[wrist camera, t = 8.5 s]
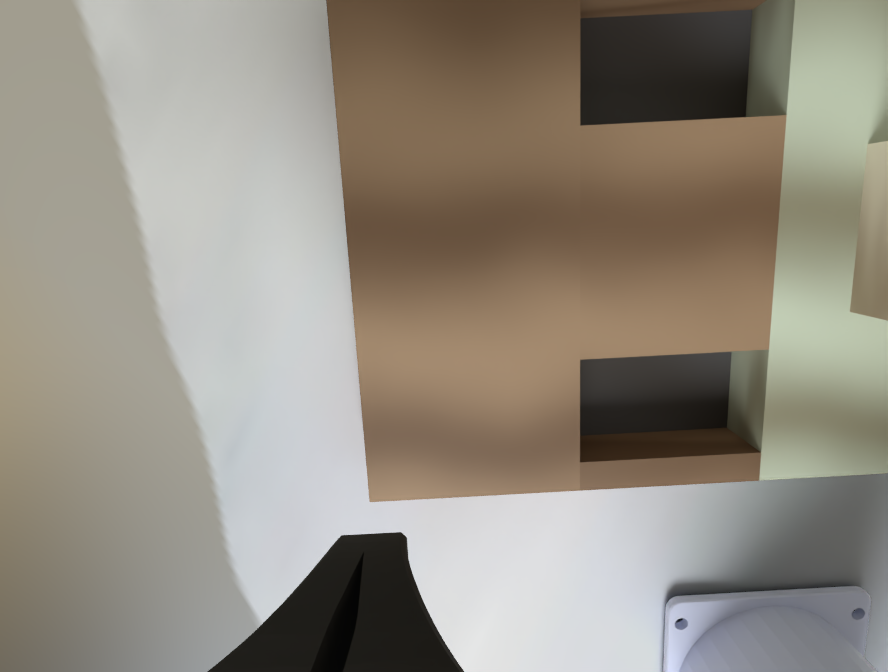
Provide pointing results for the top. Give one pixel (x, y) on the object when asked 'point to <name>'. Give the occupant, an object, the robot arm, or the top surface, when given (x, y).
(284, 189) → the top surface
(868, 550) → the top surface
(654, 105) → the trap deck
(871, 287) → the cream block
